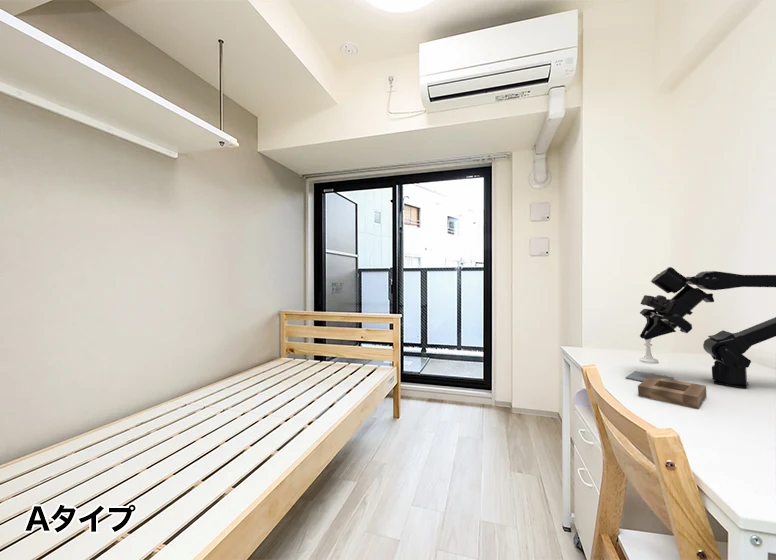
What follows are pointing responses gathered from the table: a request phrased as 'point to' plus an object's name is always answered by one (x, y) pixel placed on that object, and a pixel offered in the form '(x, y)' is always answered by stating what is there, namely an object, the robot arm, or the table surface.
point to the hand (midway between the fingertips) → (642, 338)
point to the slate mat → (645, 376)
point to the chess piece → (648, 354)
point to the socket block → (673, 391)
